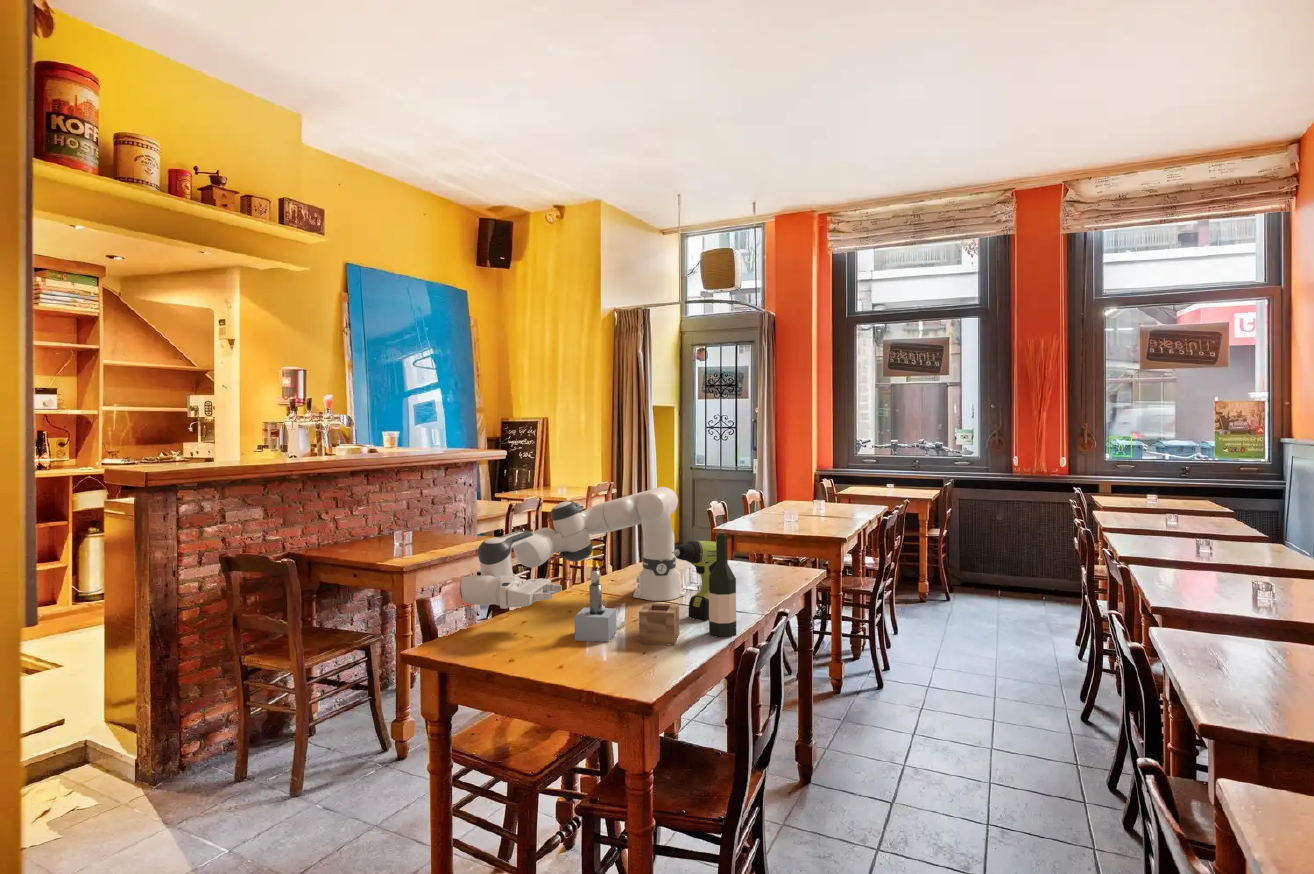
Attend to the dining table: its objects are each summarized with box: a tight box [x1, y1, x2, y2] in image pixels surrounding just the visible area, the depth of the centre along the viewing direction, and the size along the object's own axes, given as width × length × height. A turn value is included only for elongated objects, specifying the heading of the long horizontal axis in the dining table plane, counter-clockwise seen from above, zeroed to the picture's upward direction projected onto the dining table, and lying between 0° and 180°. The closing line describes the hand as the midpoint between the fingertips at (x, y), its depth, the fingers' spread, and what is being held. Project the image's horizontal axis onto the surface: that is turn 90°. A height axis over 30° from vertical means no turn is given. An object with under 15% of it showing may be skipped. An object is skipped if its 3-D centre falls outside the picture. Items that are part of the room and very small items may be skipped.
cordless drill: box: [672, 540, 716, 622], centre depth 224 cm, size 23×7×25 cm, turn 134°
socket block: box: [574, 606, 618, 643], centre depth 207 cm, size 10×10×7 cm
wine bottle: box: [708, 531, 737, 638], centre depth 208 cm, size 8×8×30 cm
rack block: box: [638, 602, 680, 646], centre depth 203 cm, size 10×10×9 cm
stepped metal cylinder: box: [588, 570, 603, 615], centre depth 207 cm, size 4×4×16 cm
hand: (556, 592), depth 209 cm, fingers open, 8 cm apart
